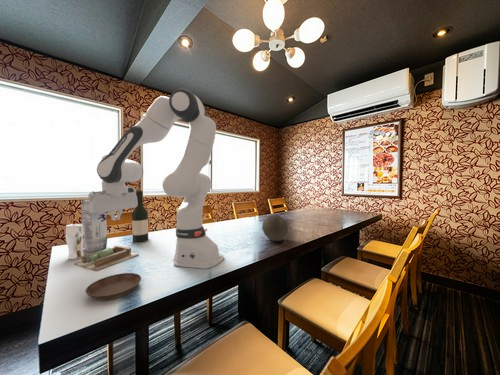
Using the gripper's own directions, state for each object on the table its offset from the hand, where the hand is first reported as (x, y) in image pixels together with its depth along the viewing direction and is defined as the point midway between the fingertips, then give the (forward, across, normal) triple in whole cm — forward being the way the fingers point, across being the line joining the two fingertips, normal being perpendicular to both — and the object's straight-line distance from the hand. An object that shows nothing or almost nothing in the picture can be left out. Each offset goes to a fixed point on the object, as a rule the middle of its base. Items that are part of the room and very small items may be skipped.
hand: (116, 220), depth 93 cm
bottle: (+14, -3, +1) cm, 15 cm away
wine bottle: (+17, +22, +14) cm, 32 cm away
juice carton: (+16, +2, +22) cm, 28 cm away
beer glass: (+17, -8, +18) cm, 26 cm away
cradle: (+17, -4, +2) cm, 18 cm away
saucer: (+19, -19, -27) cm, 38 cm away
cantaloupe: (+21, +51, -59) cm, 81 cm away
